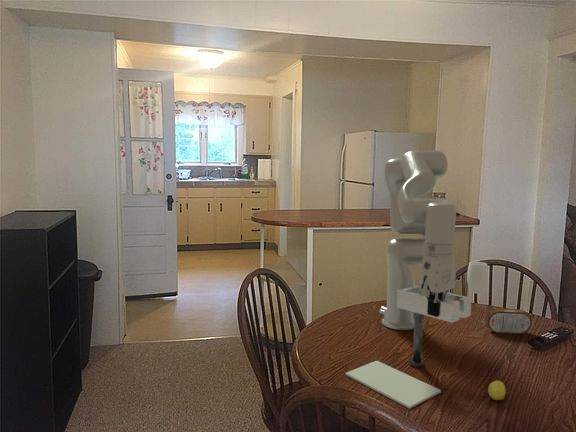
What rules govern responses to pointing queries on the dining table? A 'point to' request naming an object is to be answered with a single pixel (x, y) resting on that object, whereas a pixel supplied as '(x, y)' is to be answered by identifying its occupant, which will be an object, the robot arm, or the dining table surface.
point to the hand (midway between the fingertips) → (435, 314)
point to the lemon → (497, 390)
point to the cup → (477, 276)
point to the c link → (448, 308)
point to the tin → (508, 321)
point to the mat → (393, 384)
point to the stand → (417, 342)
